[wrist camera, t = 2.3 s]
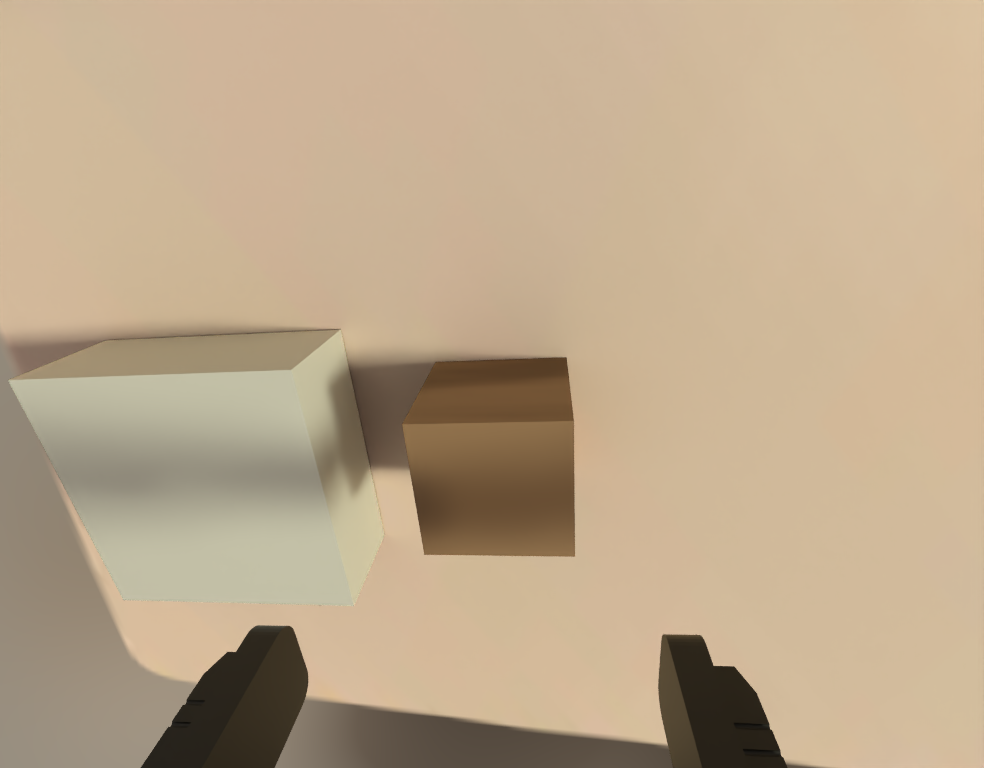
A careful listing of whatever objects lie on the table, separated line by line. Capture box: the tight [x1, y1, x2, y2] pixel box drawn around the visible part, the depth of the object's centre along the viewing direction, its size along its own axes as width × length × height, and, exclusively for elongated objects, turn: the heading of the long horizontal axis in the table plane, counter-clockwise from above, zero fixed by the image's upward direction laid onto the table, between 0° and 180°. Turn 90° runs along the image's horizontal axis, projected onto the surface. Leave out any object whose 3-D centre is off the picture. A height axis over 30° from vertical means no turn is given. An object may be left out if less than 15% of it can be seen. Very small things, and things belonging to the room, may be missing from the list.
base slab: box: [8, 329, 384, 606], centre depth 19 cm, size 10×10×4 cm
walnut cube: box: [402, 358, 575, 556], centre depth 17 cm, size 5×5×5 cm
